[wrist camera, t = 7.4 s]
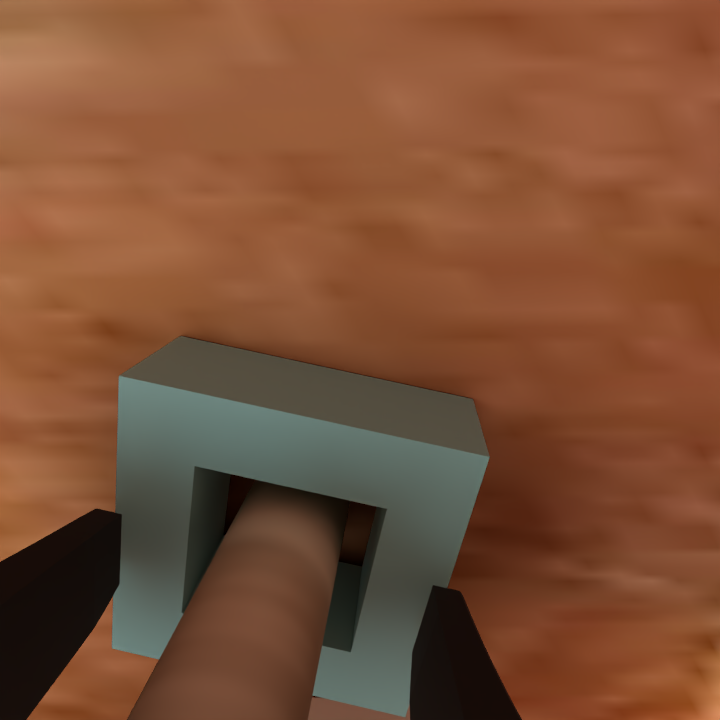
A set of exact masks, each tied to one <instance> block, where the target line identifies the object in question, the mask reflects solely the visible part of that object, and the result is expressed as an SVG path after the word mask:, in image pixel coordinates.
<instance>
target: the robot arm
mask: <svg viewBox="0 0 720 720" xmlns="http://www.w3.org/2000/svg"><path fill="white" fill-rule="evenodd" d="M121 527H122V514H118V513H114V512H110V511H105V510H101V509H94V510H93V511H91V512H89V513H87V514H85V515H83V516H81V517H80V518H78V519H76V520H74V521H73V522H71V523H69V524H67V525H66V526H64V527H62V528H60V529H59V530H57V531H55V532H53V533H52V534H50V535H48V536H46V537H44V538H43V539H41V540H39V541H37V542H36V543H34V544H32V545H30V546H28V547H26V548H25V549H23V550H21V551H19V552H17V553H16V554H14V555H12V556H10V557H8V558H6V559H5V560H3V561H1V562H0V720H26V719H27V718H28V717H29V715H30V714H31V713H32V711H33V710H34V709H35V707H36V706H37V705H38V703H39V702H40V701H41V699H42V698H43V696H44V695H45V694H46V692H47V691H48V690H49V688H50V687H51V686H52V684H53V683H54V682H55V680H56V679H57V678H58V676H59V675H60V674H61V672H62V671H63V670H64V668H65V667H66V666H67V664H68V663H69V662H70V660H71V659H72V658H73V656H74V655H75V653H76V652H77V651H78V649H79V648H80V647H81V645H82V644H83V643H84V641H85V640H86V638H87V637H88V636H89V634H90V633H91V632H92V630H93V629H94V627H95V626H96V624H97V622H98V621H99V619H100V617H101V616H102V614H103V612H104V611H105V609H106V607H107V605H108V604H109V602H110V600H111V598H112V597H113V595H114V593H115V591H116V590H117V588H118V586H119V584H120V559H121ZM409 704H410V720H522V719H521V717H520V715H519V714H518V712H517V710H516V708H515V706H514V704H513V702H512V700H511V699H510V697H509V695H508V693H507V691H506V689H505V687H504V685H503V683H502V681H501V679H500V677H499V675H498V673H497V671H496V669H495V667H494V665H493V663H492V661H491V659H490V657H489V654H488V652H487V650H486V648H485V646H484V644H483V641H482V639H481V637H480V635H479V633H478V630H477V628H476V626H475V623H474V621H473V619H472V616H471V614H470V612H469V609H468V607H467V604H466V602H465V600H464V597H463V595H462V594H461V592H460V591H457V590H453V589H448V588H444V587H439V586H435V585H433V586H432V590H431V593H430V596H429V599H428V602H427V606H426V609H425V612H424V615H423V618H422V622H421V625H420V628H419V631H418V635H417V638H416V641H415V644H414V647H413V651H412V663H411V680H410V700H409Z"/></svg>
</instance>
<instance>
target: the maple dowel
mask: <svg viewBox="0 0 720 720" xmlns="http://www.w3.org/2000/svg"><path fill="white" fill-rule="evenodd" d="M349 505H350V501H349V500H344V499H340V498H336V497H331V496H327V495H322V494H318V493H313V492H309V491H304V490H300V489H295V488H291V487H286V486H282V485H277V484H273V483H268V482H264V481H260V480H255V481H254V483H253V484H252V486H251V488H250V490H249V492H248V494H247V496H246V498H245V499H244V501H243V503H242V505H241V507H240V509H239V511H238V513H237V514H236V516H235V518H234V520H233V522H232V524H231V526H230V528H229V529H228V531H227V533H226V535H225V537H224V539H223V541H222V543H221V544H220V546H219V548H218V550H217V552H216V554H215V556H214V558H213V559H212V561H211V563H210V565H209V567H208V569H207V571H206V573H205V574H204V576H203V578H202V580H201V582H200V584H199V586H198V588H197V589H196V591H195V593H194V595H193V597H192V599H191V601H190V603H189V604H188V606H187V608H186V610H185V612H184V614H183V616H182V618H181V619H180V621H179V623H178V625H177V627H176V629H175V631H174V632H173V634H172V636H171V638H170V640H169V642H168V644H167V646H166V647H165V649H164V651H163V653H162V655H161V657H160V659H159V661H158V662H157V664H156V666H155V668H154V670H153V672H152V674H151V676H150V677H149V679H148V681H147V683H146V685H145V687H144V689H143V691H142V692H141V694H140V696H139V698H138V700H137V702H136V704H135V706H134V707H133V709H132V711H131V713H130V715H129V717H128V719H127V720H308V715H309V710H310V705H311V700H312V695H313V690H314V685H315V679H316V674H317V669H318V664H319V659H320V654H321V649H322V644H323V638H324V633H325V628H326V623H327V618H328V613H329V608H330V602H331V597H332V592H333V587H334V582H335V577H336V572H337V566H338V561H339V556H340V551H341V546H342V541H343V536H344V531H345V525H346V520H347V515H348V510H349Z"/></svg>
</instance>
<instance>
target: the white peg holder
mask: <svg viewBox="0 0 720 720" xmlns="http://www.w3.org/2000/svg"><path fill="white" fill-rule="evenodd" d="M308 720H410V704H409V707H408V710H407V713H406V717H402V716H397V715H393V714H389V713H385V712H380V711H376V710H372V709H368V708H363V707H359V706H355V705H351V704H346V703H342V702H338V701H334V700H329V699H325V698H313V697H312V700H311V705H310V710H309V715H308Z"/></svg>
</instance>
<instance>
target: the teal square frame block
mask: <svg viewBox="0 0 720 720" xmlns="http://www.w3.org/2000/svg"><path fill="white" fill-rule="evenodd" d="M489 458H490V456H489V453H488V449H487V446H486V443H485V439H484V436H483V432H482V429H481V425H480V422H479V418H478V415H477V411H476V408H475V404H474V401H473V399H470V398H465V397H461V396H456V395H452V394H447V393H442V392H438V391H433V390H428V389H424V388H419V387H415V386H410V385H405V384H401V383H396V382H391V381H387V380H382V379H378V378H373V377H368V376H364V375H359V374H354V373H350V372H345V371H341V370H336V369H331V368H327V367H322V366H317V365H313V364H308V363H304V362H299V361H294V360H290V359H285V358H280V357H276V356H271V355H267V354H262V353H257V352H253V351H248V350H243V349H239V348H234V347H230V346H225V345H220V344H216V343H211V342H206V341H202V340H197V339H193V338H188V337H183V336H180V337H178V338H177V339H175V340H173V341H172V342H170V343H169V344H167V345H166V346H164V347H163V348H161V349H160V350H158V351H156V352H155V353H153V354H152V355H150V356H149V357H147V358H146V359H144V360H143V361H141V362H139V363H138V364H136V365H135V366H133V367H132V368H130V369H129V370H127V371H126V372H124V373H122V374H121V375H119V394H118V432H117V471H116V509H115V513H118V514H122V527H121V559H120V584H119V586H118V588H117V590H116V591H115V593H114V595H113V624H112V648H113V649H117V650H121V651H125V652H130V653H134V654H138V655H142V656H147V657H151V658H155V659H160V657H161V655H162V653H163V651H164V649H165V647H166V646H167V644H168V642H169V640H170V638H171V636H172V634H173V632H174V631H175V629H176V627H177V625H178V623H179V621H180V619H181V618H182V616H183V614H184V612H185V610H186V608H187V606H188V604H189V603H190V601H191V599H192V597H193V595H194V593H195V591H196V589H197V588H198V586H199V584H200V582H201V580H202V578H203V576H204V574H205V573H206V571H207V569H208V567H209V565H210V563H211V561H212V559H213V558H214V556H215V554H216V552H217V550H218V548H219V546H220V544H221V543H222V541H223V539H224V537H225V535H224V527H225V518H226V510H227V501H228V493H229V485H230V476H231V474H233V475H237V476H242V477H246V478H251V479H255V480H260V481H264V482H268V483H273V484H277V485H282V486H286V487H291V488H295V489H300V490H304V491H309V492H313V493H318V494H322V495H327V496H331V497H336V498H340V499H344V500H349V501H353V502H358V503H362V504H367V505H371V506H376V511H375V515H374V520H373V524H372V528H371V532H370V536H369V540H368V544H367V548H366V552H365V556H364V561H363V565H362V567H361V566H357V565H352V564H348V563H343V562H339V561H338V566H337V572H336V577H335V582H334V587H333V592H332V597H331V602H330V608H329V613H328V618H327V623H326V628H325V633H324V638H323V644H322V649H321V654H320V659H319V664H318V669H317V674H316V679H315V685H314V690H313V695H312V696H317V697H321V698H325V699H329V700H334V701H338V702H342V703H346V704H351V705H355V706H359V707H363V708H368V709H372V710H376V711H380V712H385V713H389V714H393V715H397V716H402V717H406V713H407V710H408V707H409V700H410V680H411V663H412V651H413V647H414V644H415V641H416V638H417V635H418V631H419V628H420V625H421V622H422V618H423V615H424V612H425V609H426V606H427V602H428V599H429V596H430V593H431V590H432V586H433V585H435V586H439V587H444V588H447V587H448V584H449V581H450V578H451V575H452V572H453V569H454V566H455V562H456V559H457V556H458V553H459V550H460V547H461V544H462V541H463V538H464V535H465V532H466V529H467V525H468V522H469V519H470V516H471V513H472V510H473V507H474V504H475V501H476V498H477V495H478V492H479V488H480V485H481V482H482V479H483V476H484V473H485V470H486V467H487V464H488V461H489Z"/></svg>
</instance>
